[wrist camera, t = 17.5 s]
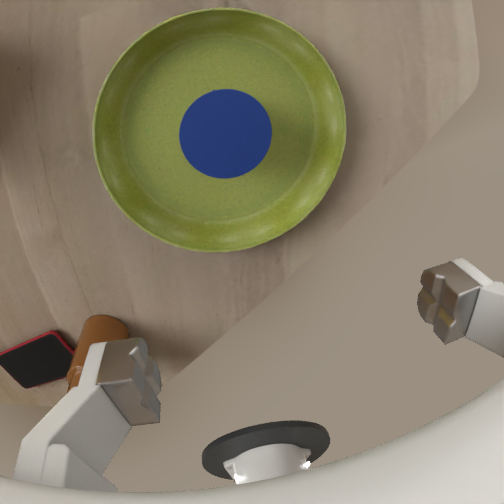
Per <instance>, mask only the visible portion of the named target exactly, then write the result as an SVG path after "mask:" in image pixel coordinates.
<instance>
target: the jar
mask: <svg viewBox="0 0 504 504" xmlns="http://www.w3.org/2000/svg"><path fill="white" fill-rule="evenodd" d="M122 339H130V333H129V331H128V329H127V328H126V326H125V325H124V324H123V323H122V322H120V321H119V320H117V319H115V318H113V317H110V316H106V315H96V316H92V317H90V318H89V319H87V320H86V321H85V323H84V325H83V328H82V331H81V334H80V336H79V339H78V342H77V345H76V348H75V351H74V354H73V357H72V360H71V363H70V367H69V370H68V373H67V381H68V383H69V387H68V391H67V393H68V392H69V391H70V390H71V389H72V388H73V387H78V384H79V381H80V377H81V374H82V370H83V367H84V364H85V360H86V357H87V354H88V351H89V348H90V346H91V345H92V344H93V343H101V342H108V341H115V340H122Z"/></svg>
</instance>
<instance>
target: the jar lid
mask: <svg viewBox="0 0 504 504" xmlns="http://www.w3.org/2000/svg"><path fill="white" fill-rule="evenodd" d="M271 139H272V127H271V122H270V118H269V116H268V114H267V112H266V110H265V109H264V107H263V106H262V105H261V104H260V102H258V101H257V100H256V99H255V98H254V97H252V96H251V95H249V94H247V93H245V92H242V91H239V90H234V89H219V90H212V91H211V92H208V93H206V94H204V95H202V96H201V97H199V98H198V99H196V100H195V101H194V102H193V103H192V104H191V105H190V106H189V107H188V109H187V110H186V112H185V114H184V116H183V118H182V121H181V124H180V129H179V142H180V146H181V149H182V152H183V154H184V156H185V158H186V159H187V160H188V162H189V163H190V164H191V165H192V166H193V167H194V168H195V169H196V170H198V171H199V172H201V173H203V174H205V175H207V176H210V177H214V178H221V179H227V178H234V177H238V176H241V175H244V174H246V173H248V172H250V171H251V170H253V169H254V168H255V167H256V166H258V164H259V163H260V162H261V161H262V160H263V159H264V157H265V156H266V154H267V152H268V150H269V147H270V144H271Z"/></svg>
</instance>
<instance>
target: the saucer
mask: <svg viewBox="0 0 504 504" xmlns="http://www.w3.org/2000/svg"><path fill="white" fill-rule="evenodd" d="M219 89H234V90H239V91H242V92H245V93H247V94H249V95H251V96H252V97H254V98H255V99H256V100H257V101H258V102H260V104H261V105H262V106H263V107H264V109H265V110H266V112H267V114H268V116H269V118H270V122H271V127H272V139H271V144H270V147H269V150H268V152H267V154H266V156H265V157H264V159H263V160H262V161H261V162H260V163H259V164H258V166H256V167H255V168H254V169H253V170H251V171H250V172H248V173H246V174H244V175H241V176H238V177H234V178H227V179H221V178H214V177H210V176H207V175H205V174H203V173H201V172H199V171H198V170H196V169H195V168H194V167H193V166H192V165H191V164H190V163H189V162H188V160H187V159H186V158H185V156H184V154H183V152H182V149H181V146H180V142H179V129H180V124H181V121H182V118H183V116H184V114H185V112H186V110H187V109H188V107H189V106H190V105H191V104H192V103H193V102H194V101H195V100H196V99H198V98H199V97H201V96H202V95H204V94H206V93H208V92H211V91H212V90H219ZM345 141H346V112H345V105H344V100H343V96H342V93H341V90H340V87H339V85H338V82H337V80H336V77H335V75H334V73H333V72H332V70H331V68H330V66H329V65H328V63H327V62H326V60H325V59H324V57H323V56H322V55H321V53H320V52H319V51H318V50H317V49H316V48H315V47H314V46H313V45H312V44H311V43H310V42H309V41H308V40H307V39H306V38H305V37H304V36H303V35H301V34H300V33H299V32H298V31H296V30H295V29H293V28H292V27H290V26H289V25H287V24H285V23H283V22H281V21H279V20H277V19H275V18H273V17H270V16H267V15H264V14H261V13H258V12H255V11H250V10H245V9H237V8H208V9H201V10H196V11H191V12H187V13H184V14H181V15H178V16H175V17H172V18H170V19H168V20H166V21H164V22H162V23H160V24H158V25H156V26H154V27H153V28H151V29H150V30H148V31H147V32H145V33H144V34H143V35H141V36H140V37H139V38H138V39H136V40H135V41H134V42H133V43H132V44H131V45H130V46H129V47H128V48H127V49H126V50H125V51H124V52H123V53H122V55H121V56H120V57H119V58H118V60H117V61H116V62H115V64H114V65H113V67H112V68H111V70H110V72H109V73H108V75H107V77H106V79H105V81H104V83H103V85H102V87H101V90H100V92H99V95H98V98H97V102H96V105H95V110H94V115H93V124H92V144H93V152H94V157H95V162H96V166H97V169H98V172H99V175H100V177H101V180H102V182H103V184H104V186H105V188H106V190H107V192H108V193H109V195H110V197H111V198H112V200H113V201H114V203H115V204H116V205H117V207H118V208H119V209H120V210H121V211H122V212H123V213H124V214H125V215H126V217H127V218H128V219H130V220H131V221H132V222H133V223H134V224H135V225H137V226H138V227H139V228H141V229H142V230H143V231H145V232H146V233H148V234H150V235H151V236H153V237H155V238H157V239H159V240H161V241H163V242H165V243H168V244H170V245H173V246H176V247H179V248H183V249H187V250H192V251H198V252H208V253H221V252H233V251H238V250H244V249H249V248H252V247H255V246H258V245H261V244H264V243H266V242H268V241H270V240H273V239H275V238H277V237H279V236H281V235H282V234H284V233H286V232H287V231H289V230H290V229H292V228H293V227H294V226H296V225H297V224H298V223H300V222H301V221H302V220H303V219H305V218H306V217H307V216H308V215H309V214H310V213H311V212H312V211H313V210H314V208H315V207H316V206H317V205H318V204H319V203H320V201H321V200H322V199H323V197H324V196H325V194H326V193H327V191H328V189H329V188H330V186H331V184H332V182H333V180H334V178H335V176H336V174H337V172H338V169H339V166H340V163H341V160H342V156H343V152H344V148H345Z"/></svg>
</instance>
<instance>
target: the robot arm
mask: <svg viewBox="0 0 504 504" xmlns="http://www.w3.org/2000/svg"><path fill="white" fill-rule="evenodd" d="M421 284H422V285H423V288H422V290H421V291H420V293H419V294H418V301H417V305H418V310H419V313H420V315H421V317H422V318H423V319H424V321H425V322H426V323H429V324H432V325H434V332H435V333H436V335H437V336H438V337H439V338H440V339H441V340H442V342H443V343H444V344H445V345H446V344H448V343H450V342H453V341H455V340H457V339H459V338H462V337H464V336H465V338H468V339H469V340H471V341H473V342H475V343H477V344H479V345H481V346H483V347H485V348H487V349H488V350H490V351H492V352H494V353H496V354H498V355H500V356H502V357H504V283H502V282H499V281H495V282H493V281H492V280H491V279H490V278H488V277H487V276H486V275H485V274H483V273H482V272H481V271H480V270H478V269H477V268H476V267H474V266H473V265H472V264H471V263H469V262H468V261H467V260H465V259H463V258H458V259H455V260H452V261H449V262H448V263H445V264H442V265H439V266H436V267H432V268H429V269H426V270H424V272H423V273H422V276H421ZM148 349H149V347H148V345H147V343H146V341H145V340H144V338H142V337H137V338H130V339H122V340H115V341H108V342H101V343H93V344H92V345H91V346H90V348H89V351H88V354H87V357H86V360H85V364H84V367H83V370H82V374H81V377H80V381H79V384H78V387H73V388H72V389H71V390H70V391H69V392H68V393H67V394H66V395H65V396H64V397H63V398H62V399H61V400H60V401H59V402H58V403H57V404H56V405H55V406H54V407H53V408H52V409H51V410H50V412H48V414H47V415H46V416H45V417H44V418H43V419H42V420H41V421H40V422H39V423H38V424H37V425H36V426H35V427H34V428H33V429H32V430H31V431H30V432H29V433H28V434H27V435H26V437H25V438H24V439H23V440H22V443H21V447H20V451H19V455H18V459H17V463H16V467H15V471H14V476H13V479H12V478H8V477H4V476H0V504H504V379H503V380H501V381H500V382H498V383H497V384H495V385H494V386H492V387H491V388H489V389H488V390H486V391H485V392H483V393H482V394H480V395H478V396H477V397H475V398H474V399H472V400H470V401H469V402H467V403H465V404H463V405H462V406H460V407H458V408H456V409H455V410H453V411H451V412H449V413H447V414H446V415H444V416H442V417H440V418H438V419H436V420H434V421H432V422H430V423H428V424H426V425H424V426H423V427H420V428H418V429H416V430H414V431H412V432H409V433H407V434H405V435H403V436H401V437H398V438H396V439H394V440H391V441H389V442H387V443H384V444H382V445H379V446H377V447H374V448H372V449H369V450H366V451H364V452H361V453H358V454H356V455H353V456H350V457H347V458H344V459H341V460H338V461H335V462H331V463H328V464H325V465H322V466H318V467H315V468H312V469H308V466H309V465H310V462H309V461H308V462H306V459H307V458H308V457H309V456H310V455H311V451H310V449H304V448H300V447H298V446H296V445H293V444H271V445H265V446H261V447H257V448H254V449H251V450H248V451H246V452H244V453H242V454H240V455H239V456H237V457H235V458H233V459H230V460H228V461H225V462H223V465H224V468H225V469H226V470H227V472H228V473H229V474H230V476H231V477H232V478H233V480H234V481H235V483H236V484H237V485H232V486H225V487H217V488H209V489H199V490H189V491H174V492H147V493H132V492H131V493H130V492H129V493H128V492H118V489H117V488H116V486H115V485H114V484H112V483H111V482H110V481H108V480H107V479H106V478H105V477H103V476H102V474H103V473H104V471H105V469H106V468H107V466H108V465H109V463H110V461H111V460H112V458H113V456H114V455H115V453H116V452H117V450H118V449H119V447H120V445H121V444H122V442H123V441H124V439H125V437H126V436H127V434H128V433H129V431H130V430H131V428H132V427H131V426H136V425H144V424H153V423H160V402H159V400H158V398H157V397H156V396H157V395H158V394H159V392H160V391H161V377H160V372H159V369H158V366H157V363H156V361H155V359H154V358H152V357H150V356H149V355H148Z"/></svg>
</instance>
